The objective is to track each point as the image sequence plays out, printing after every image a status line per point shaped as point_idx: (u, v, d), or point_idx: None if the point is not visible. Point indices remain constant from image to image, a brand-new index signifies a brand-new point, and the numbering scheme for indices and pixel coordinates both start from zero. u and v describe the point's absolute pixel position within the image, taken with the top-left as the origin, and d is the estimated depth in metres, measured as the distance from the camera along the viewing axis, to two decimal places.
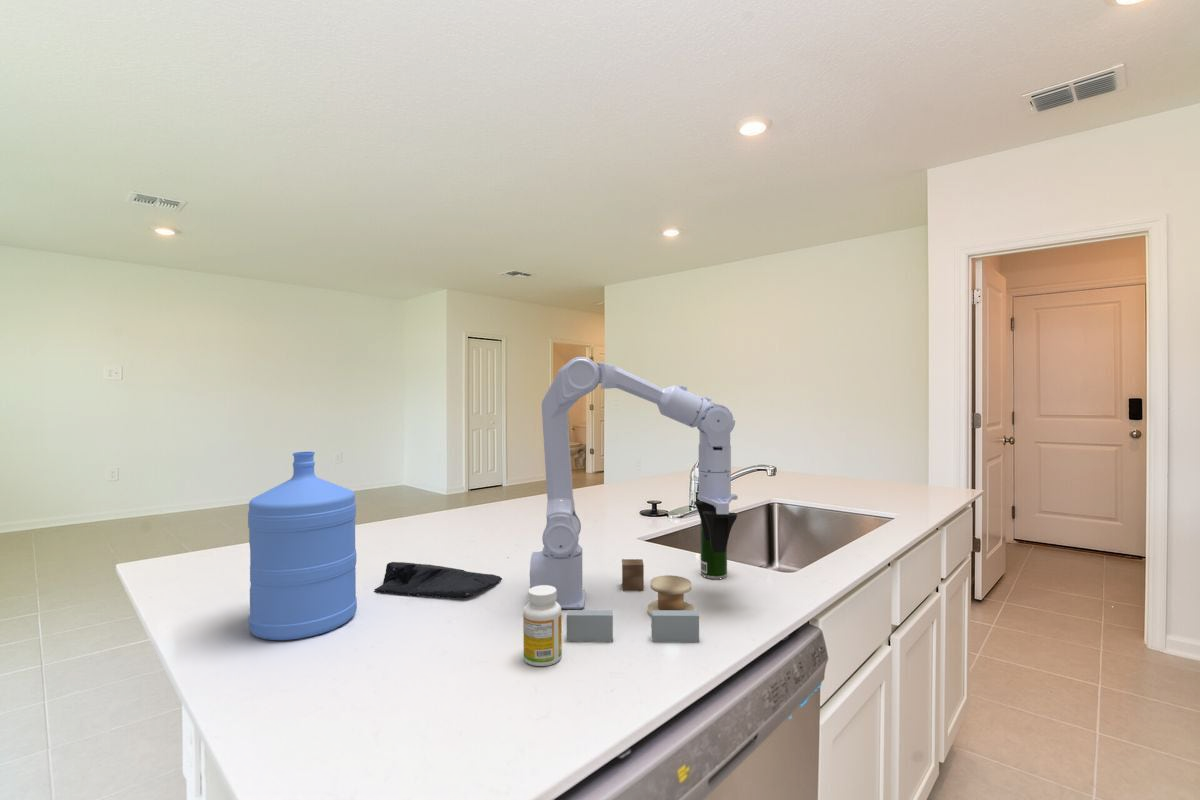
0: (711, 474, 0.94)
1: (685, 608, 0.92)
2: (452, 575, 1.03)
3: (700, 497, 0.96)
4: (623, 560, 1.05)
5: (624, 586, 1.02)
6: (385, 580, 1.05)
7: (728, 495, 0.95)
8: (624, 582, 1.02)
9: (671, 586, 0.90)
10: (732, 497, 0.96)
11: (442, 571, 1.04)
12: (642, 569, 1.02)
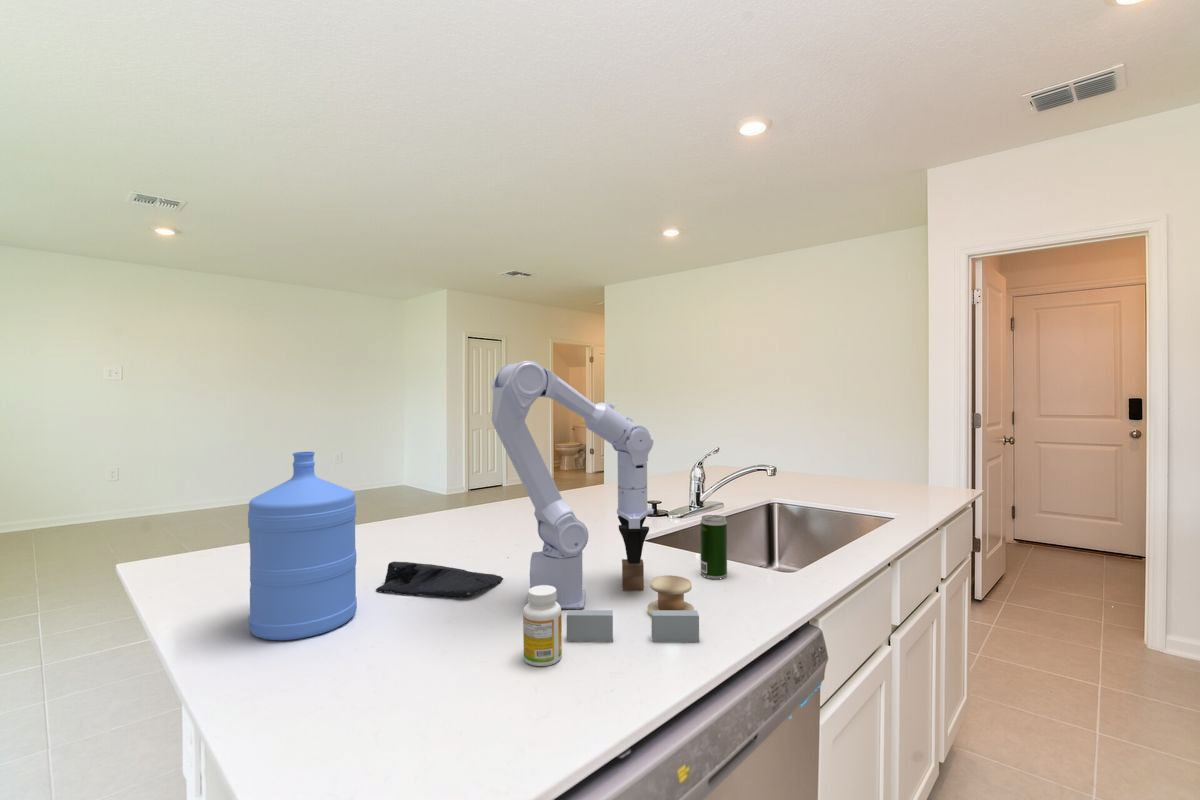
0: (627, 491, 1.01)
1: (685, 608, 0.92)
2: (453, 574, 1.03)
3: (618, 512, 1.03)
4: (623, 560, 1.05)
5: (624, 586, 1.02)
6: (387, 580, 1.06)
7: (644, 510, 1.02)
8: (624, 582, 1.02)
9: (671, 586, 0.90)
10: (648, 512, 1.03)
11: (443, 571, 1.05)
12: (642, 569, 1.02)
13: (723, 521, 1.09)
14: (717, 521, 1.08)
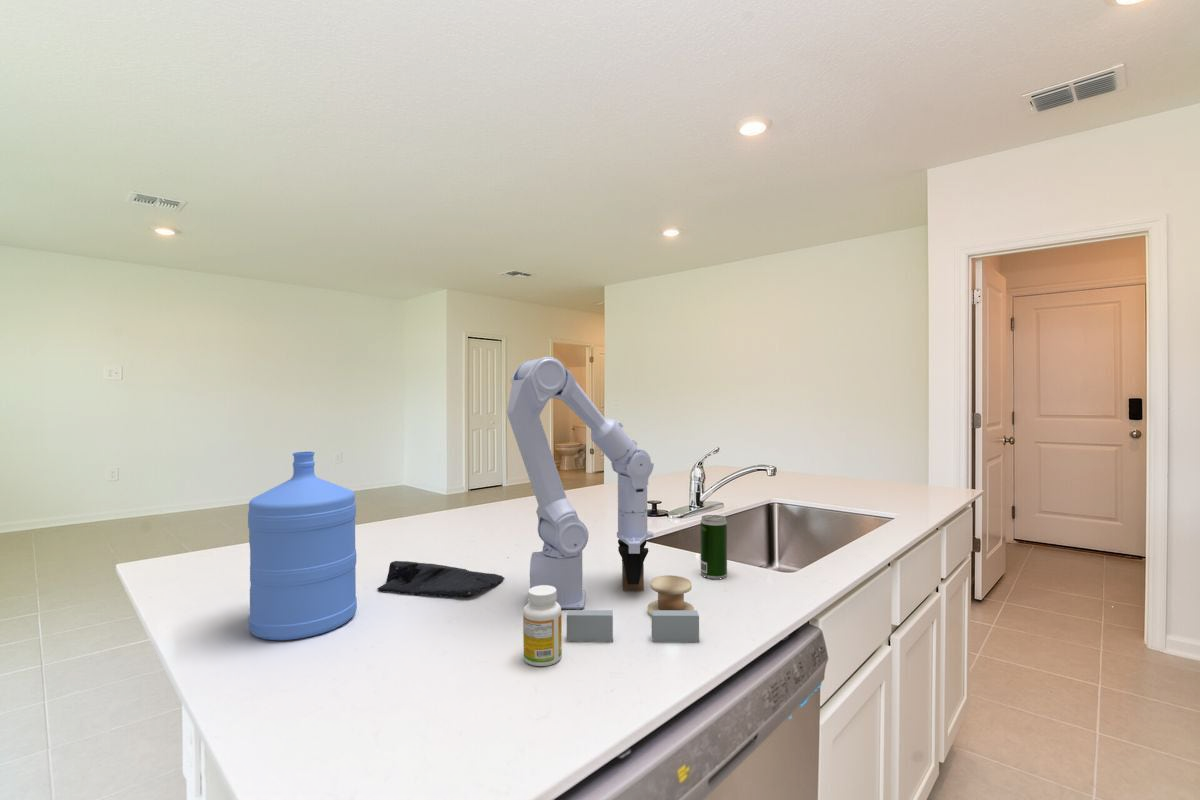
0: (627, 514, 1.01)
1: (685, 608, 0.92)
2: (454, 574, 1.03)
3: (618, 535, 1.03)
4: None
5: (624, 586, 1.02)
6: (388, 579, 1.06)
7: (643, 534, 1.02)
8: (624, 582, 1.02)
9: (671, 586, 0.90)
10: (648, 535, 1.03)
11: (445, 570, 1.05)
12: (642, 569, 1.02)
13: (723, 521, 1.09)
14: (717, 521, 1.08)
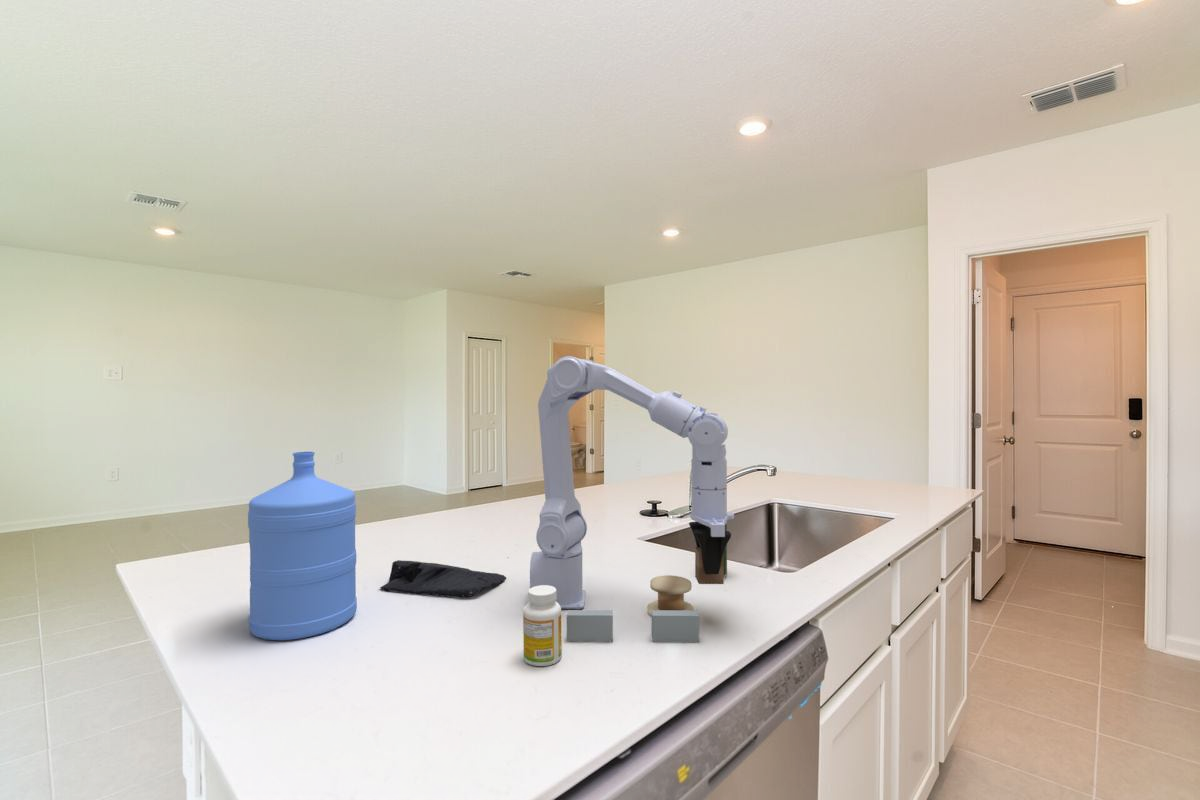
0: (705, 492, 0.86)
1: (685, 608, 0.92)
2: (456, 573, 1.03)
3: (693, 517, 0.87)
4: (698, 548, 0.89)
5: (701, 578, 0.87)
6: (391, 578, 1.06)
7: (724, 514, 0.87)
8: (701, 573, 0.87)
9: (671, 586, 0.90)
10: (728, 516, 0.87)
11: (447, 570, 1.05)
12: (722, 558, 0.87)
13: None
14: None
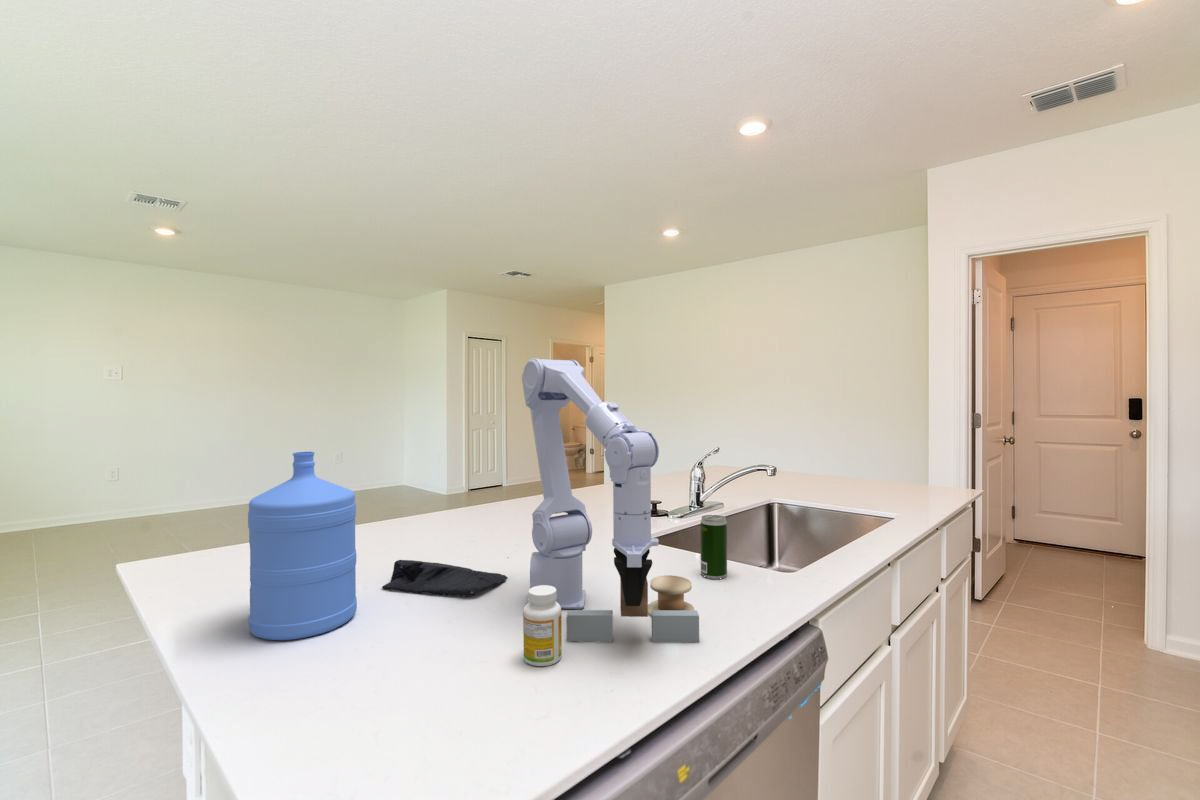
0: (625, 517, 0.79)
1: (685, 608, 0.92)
2: (457, 573, 1.04)
3: (614, 543, 0.81)
4: None
5: (623, 610, 0.80)
6: (393, 577, 1.07)
7: (646, 541, 0.80)
8: (623, 605, 0.80)
9: (671, 586, 0.90)
10: (652, 543, 0.81)
11: (448, 569, 1.05)
12: (646, 589, 0.80)
13: (723, 521, 1.09)
14: (717, 521, 1.08)
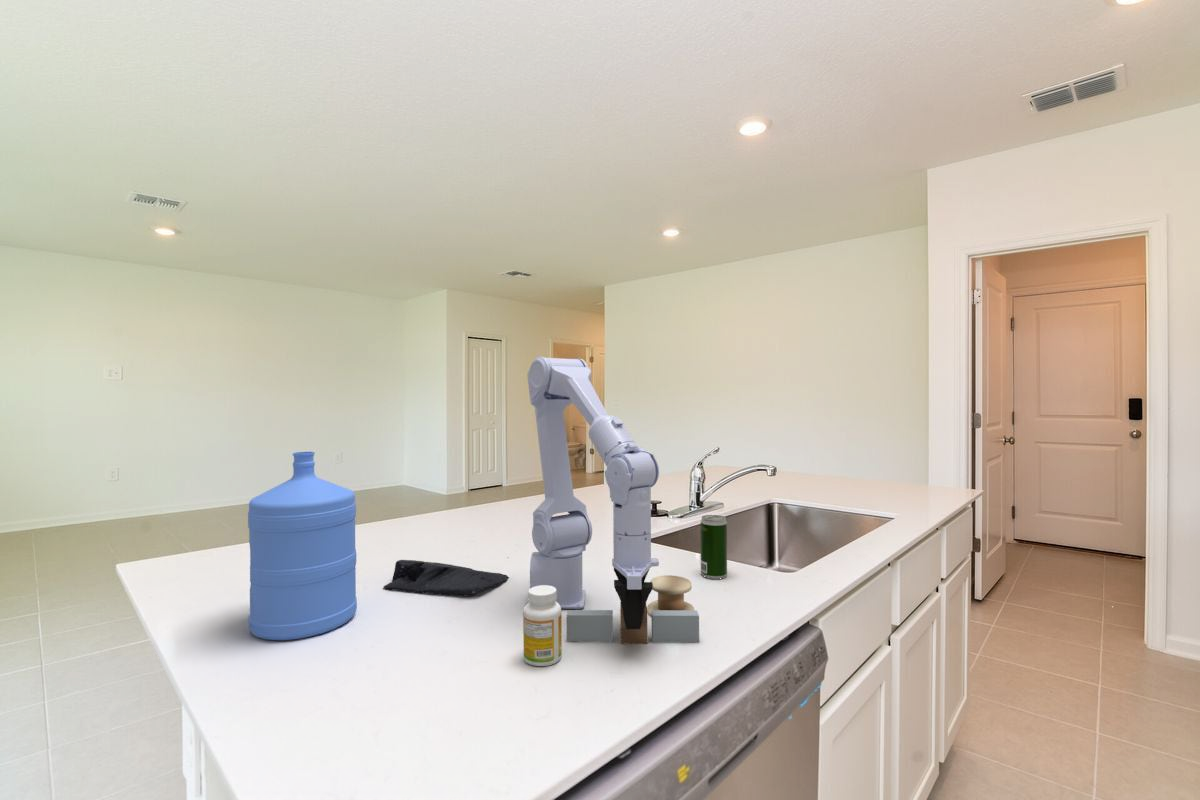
0: (625, 537, 0.79)
1: (685, 608, 0.92)
2: (459, 573, 1.04)
3: (614, 564, 0.81)
4: None
5: (623, 638, 0.80)
6: (394, 577, 1.07)
7: (646, 562, 0.80)
8: (623, 633, 0.80)
9: (671, 586, 0.90)
10: (652, 563, 0.81)
11: (450, 569, 1.06)
12: (645, 617, 0.80)
13: (723, 521, 1.09)
14: (717, 521, 1.08)
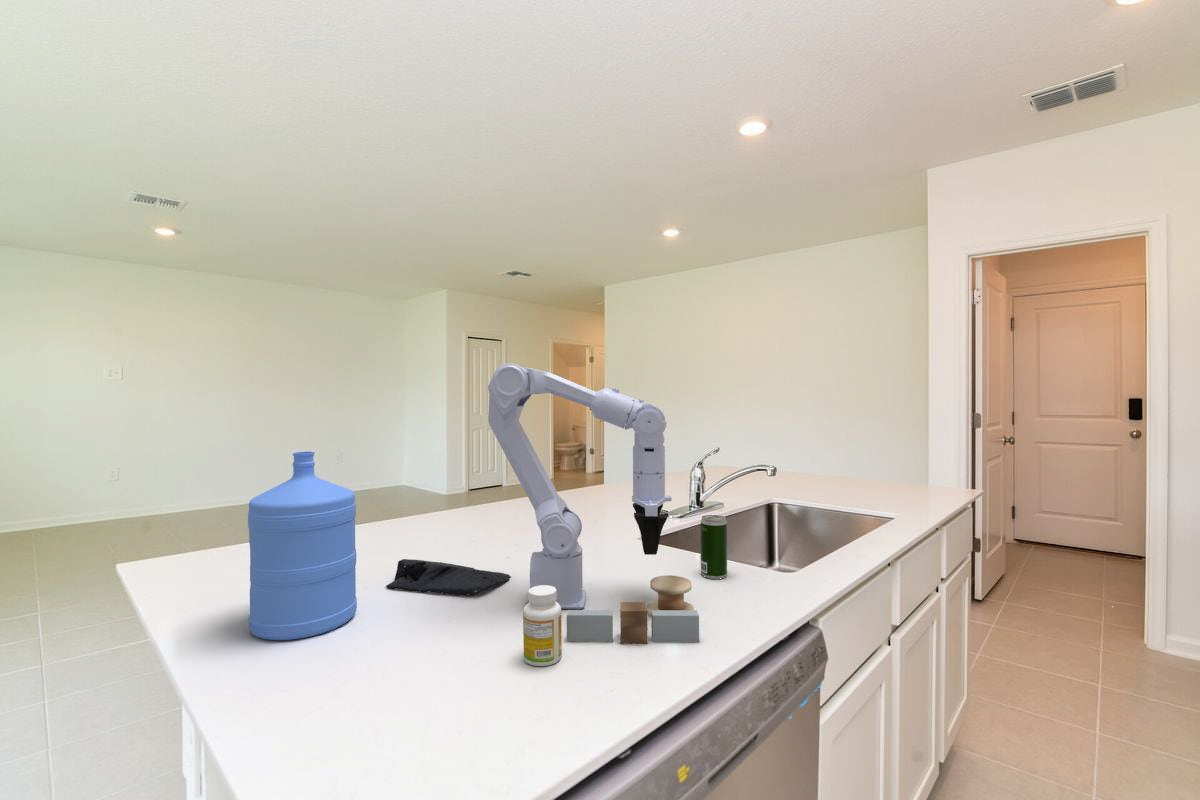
0: (643, 476, 0.94)
1: (685, 608, 0.92)
2: (461, 572, 1.04)
3: (633, 499, 0.95)
4: (622, 604, 0.83)
5: (623, 638, 0.80)
6: (396, 577, 1.07)
7: (661, 497, 0.94)
8: (623, 633, 0.80)
9: (671, 586, 0.90)
10: (666, 499, 0.95)
11: (452, 569, 1.06)
12: (646, 617, 0.80)
13: (723, 521, 1.09)
14: (717, 521, 1.08)
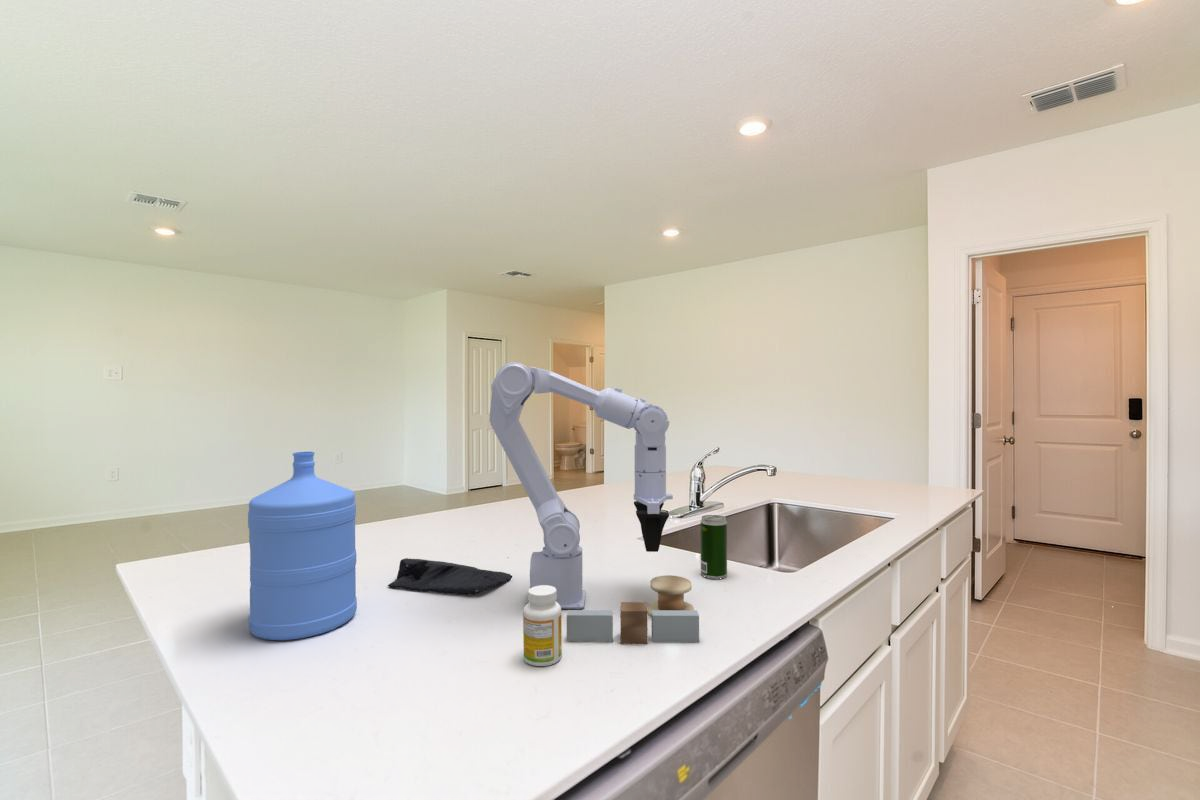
0: (645, 474, 0.95)
1: (685, 608, 0.92)
2: (462, 572, 1.04)
3: (635, 497, 0.97)
4: (622, 604, 0.83)
5: (623, 638, 0.80)
6: (398, 576, 1.08)
7: (662, 495, 0.96)
8: (623, 633, 0.80)
9: (671, 586, 0.90)
10: (667, 497, 0.97)
11: (453, 568, 1.06)
12: (646, 617, 0.80)
13: (723, 521, 1.09)
14: (717, 521, 1.08)
